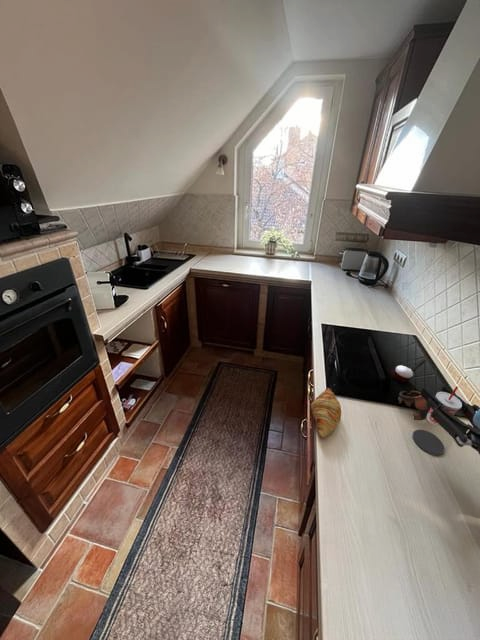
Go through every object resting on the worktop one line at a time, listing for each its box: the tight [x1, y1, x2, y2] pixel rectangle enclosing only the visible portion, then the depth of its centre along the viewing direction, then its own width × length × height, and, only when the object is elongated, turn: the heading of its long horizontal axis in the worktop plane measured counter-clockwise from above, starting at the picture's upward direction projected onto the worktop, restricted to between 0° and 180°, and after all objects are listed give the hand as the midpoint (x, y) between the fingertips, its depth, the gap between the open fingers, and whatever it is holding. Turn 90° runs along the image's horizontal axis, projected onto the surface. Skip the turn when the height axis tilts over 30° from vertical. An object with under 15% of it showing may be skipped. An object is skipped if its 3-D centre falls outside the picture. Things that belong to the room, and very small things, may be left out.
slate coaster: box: [412, 429, 445, 456], centre depth 81 cm, size 9×9×1 cm
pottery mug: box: [397, 390, 431, 422], centre depth 91 cm, size 12×10×8 cm
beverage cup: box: [426, 386, 462, 428], centre depth 73 cm, size 6×6×14 cm
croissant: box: [310, 387, 342, 439], centre depth 88 cm, size 21×10×8 cm, turn 159°
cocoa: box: [390, 357, 428, 383], centre depth 102 cm, size 10×6×12 cm, turn 54°
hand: (432, 390), depth 77 cm, fingers closed on beverage cup, 6 cm apart
